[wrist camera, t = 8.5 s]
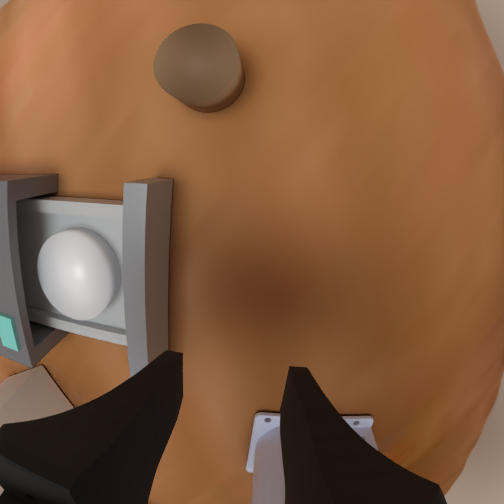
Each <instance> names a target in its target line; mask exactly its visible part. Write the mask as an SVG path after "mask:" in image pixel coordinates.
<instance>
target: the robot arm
mask: <svg viewBox="0 0 504 504" xmlns="http://www.w3.org/2000/svg"><path fill="white" fill-rule="evenodd" d="M182 399H183V353H179V352H174V351H168V350H166V351H164V352H163V353H162V354H160V355H159V356H158V357H157V358H155V359H154V360H153V361H152V362H150V363H149V364H148V365H147V366H145V367H144V368H143V369H141V370H140V371H139V372H137V373H136V374H135V375H133V376H132V377H131V378H129V379H128V380H126V381H125V382H123V383H122V384H120V385H119V386H117V387H116V388H114V389H113V390H111V391H109V392H108V393H106V394H104V395H102V396H100V397H98V398H96V399H94V400H92V401H90V402H88V403H86V404H83V405H81V406H78V407H76V408H73V409H70V410H68V411H65V412H62V413H59V414H55V415H52V416H48V417H44V418H40V419H35V420H30V421H23V422H16V423H7V424H3V425H2V426H1V427H0V485H1V487H2V488H3V489H4V491H3V492H2V494H1V495H0V504H147V503H148V499H149V495H150V491H151V487H152V483H153V480H154V476H155V473H156V470H157V467H158V464H159V462H160V459H161V457H162V455H163V452H164V450H165V447H166V445H167V443H168V440H169V438H170V435H171V433H172V430H173V428H174V426H175V423H176V421H177V418H178V414H179V410H180V406H181V402H182ZM266 418H270V419H266ZM355 421H357V422H355ZM373 422H374V420H373V417H372V416H341V415H340V414H339V413H338V412H337V410H336V409H335V408H334V406H333V405H332V404H331V402H330V401H329V400H328V398H327V397H326V396H325V394H324V393H323V391H322V390H321V388H320V387H319V385H318V384H317V382H316V381H315V379H314V377H313V376H312V374H311V373H310V371H309V370H308V368H306V367H293V366H289V371H288V376H287V381H286V385H285V390H284V395H283V399H282V404H281V408H280V414H278V413H266V412H259V413H257V414H256V415H255V418H254V424H253V430H252V436H251V442H250V448H249V454H248V459H247V465H246V470H247V471H248V472H251V473H253V483H252V498H251V504H447V503H446V500H445V497H444V495H443V493H442V490H441V488H440V487H439V485H438V484H436V483H434V482H431V481H429V480H427V479H425V478H422V477H420V476H418V475H416V474H414V473H412V472H410V471H408V470H407V469H405V468H403V467H401V466H400V465H398V464H396V463H395V462H393V461H392V460H390V459H389V458H387V457H386V456H384V455H383V454H382V453H380V452H379V451H378V447H377V444H376V441H375V438H374V435H373V432H372V429H371V427H372V425H373Z"/></svg>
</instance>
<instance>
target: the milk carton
mask: <svg viewBox="0 0 504 504" xmlns="http://www.w3.org/2000/svg"><path fill="white" fill-rule="evenodd" d="M73 408H74V407H73V406H72V405H71V403H70V402H69V401H68V400H67V398H66V397H65V396H64V394H63V393H62V392H61V390H60V389H59V388H58V386H57V385H56V384H55V382H54V381H53V379H52V378H51V377H50V375H49V374H48V372H47V371H46V370H45V368H44V367H43V366H42V365H40V366H38V367H35V368H32V369H29V370H26V371H23V372H21V373H18V374H15V375H12V376H9V377H7V378H6V379H5V380H4V381H3V382H2V383H1V384H0V427H1V426H2V425H3V424H7V423H16V422H23V421H30V420H35V419H40V418H44V417H48V416H52V415H55V414H59V413H62V412H65V411H68V410H70V409H73ZM3 491H4V489H3V488H2V487H1V485H0V495H1V494H2V492H3Z"/></svg>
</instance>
